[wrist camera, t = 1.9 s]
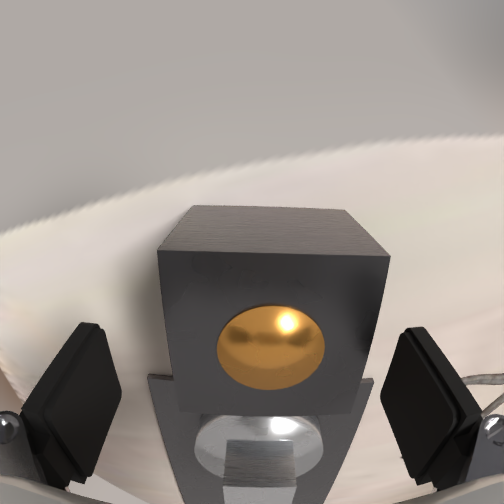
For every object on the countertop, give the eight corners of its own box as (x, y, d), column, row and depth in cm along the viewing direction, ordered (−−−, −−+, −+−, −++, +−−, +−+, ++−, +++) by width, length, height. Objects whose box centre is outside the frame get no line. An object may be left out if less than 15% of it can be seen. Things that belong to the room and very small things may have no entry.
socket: (344, 210, 15) (391, 257, 9) (327, 335, 17) (350, 415, 12) (193, 205, 15) (156, 251, 9) (199, 332, 17) (179, 413, 12)
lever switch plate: (372, 378, 18) (399, 449, 13) (319, 507, 26) (324, 551, 20) (148, 374, 19) (121, 446, 13) (187, 504, 26) (180, 549, 20)
